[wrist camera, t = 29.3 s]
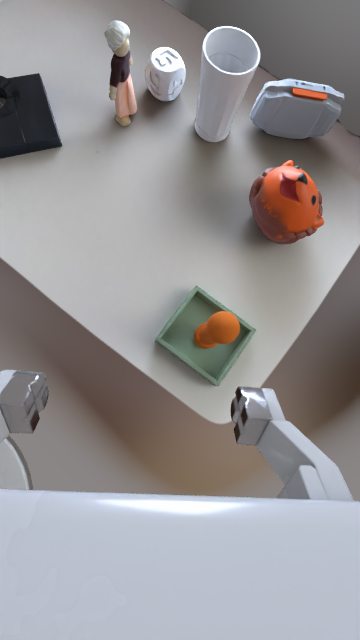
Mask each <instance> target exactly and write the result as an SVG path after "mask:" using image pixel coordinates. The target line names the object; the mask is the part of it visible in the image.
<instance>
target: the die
mask: <svg viewBox="0 0 360 640" xmlns="http://www.w3.org/2000/svg"><path fill="white" fill-rule="evenodd" d="M145 79H146V83H147V86H148V88H149V90H150V92H151V93H152V94H153V96H154V97H156V98H157V99H159V100H161V101H171V100H173V99H175V98H176V97H177V96H178V94H179V93H180V91H181V89H182V87H183V84H184V81H185V66H184V63H183V61H182V59H181V57H180V55H179V54H178V53H177V52H176V51H175V50H173V49H171V48H168V47H161V48H158V49H156V50H155V51H154V52H153V53H152V54H151V55H150V57H149V59H148V62H147V65H146V69H145Z"/></svg>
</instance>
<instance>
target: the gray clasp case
mask: <svg viewBox="0 0 360 640" xmlns="http://www.w3.org/2000/svg"><path fill="white" fill-rule="evenodd" d="M343 103H344V94H343V93H340V92H337V91H335V90H334V89H333V88H332V87H330V86H327V85H321V84H316V83H310V82H305V81H299V80H294V79H285V80H281V81H271V82H267V83H266V84H265V85H264V87H263V89H262V91H261V92H260V94H259V96H258V98H257V99H256V101H255V103H254V106H253V108H252V110H251V120H253V123H254V124H255V125H256V126H258V127H260V128H262V129H263V130H264V131H265V132H266V133H268V134H271V135H274V136H279V137H284V138H293V139H304V138H307V137H311V136H312V137H319V136H324V135H325V134H326V133H328V132H329V130H330V129H331V128H332V126H333V124H334V123H335V121H336V120H337V118H338V116H339V115H340V114H341V108H342V106H343Z"/></svg>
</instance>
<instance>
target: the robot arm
mask: <svg viewBox="0 0 360 640" xmlns="http://www.w3.org/2000/svg"><path fill="white" fill-rule="evenodd" d="M45 380H46V378H45V374H44V373H39V372H38V373H37V372H28V371H16V370H3V371H1V372H0V443H1V442H2V441H3V440H4V439H5V438H6V437H7V436H9V435H10V433H33V432H34V430H35V428H36V425H37V423H38V421H39V419H40V418H39V414H38V413H39V412H41V411H42V410H43V409H44V408H45V406H46V403H47V399H48V387H47V386H46V385H45V384H44V382H45ZM235 393H236V397H235V398H233V400H232V403H231V418H232V421H233V422H234V423H235V424H236V426H235V428H234V433H235V437H236V442H237V444H242V445H254V446H256V447H257V449H258V450H259V451H260V453H261V454H262V455H263V457H264V458H265V459H266V460H267V462H268V463H269V464H270V466H271V467H272V468H273V470H274V471H275V472H276V474H277V475H278V476H279V478H280V479H281V480H282V481H283V483H284V484H285V487H284V488H283V489H282V491H281V492H280V493H279V495H278V496H277V498H248V497H221V496H191V495H190V496H189V495H161V494H133V493H130V494H129V493H103V492H102V493H101V492H71V491H41V490H12V489H0V640H360V501H354V500H353V498H352V496H351V493H350V492H349V489H348V487H347V485H346V483H345V481H344V479H343V477H342V475H341V473H340V471H339V469H338V467H337V465H336V464H334V463H333V462H332V461H331V460H330V459H329V458H328V457H327V456H326V455H325V454H324V453H322V452H321V451H320V450H319V449H318V448H317V447H316V446H315V445H314V444H313V443H312V442H311V441H310V440H309V439H308V438H307V437H305V436H304V435H303V434H302V433H301V432H300V431H299V430H298V429H297V428H296V427H295V426H294V425H293V424H291V423H290V422H289V421H286V420H285V418H284V415H283V413H282V410H281V407H280V405H279V402H278V400H277V398H276V395H275V392H274V391H273V389H266V388H254V387H238V388H237V389H236V392H235Z"/></svg>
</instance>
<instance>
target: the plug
mask: <svg viewBox="0 0 360 640" xmlns="http://www.w3.org/2000/svg"><path fill="white" fill-rule="evenodd" d="M239 331H240V324H239V321H238V319H237V318H236V317H235V316H234V315H233V314H232V313H230V312H226V311H220V312H217V313H215V314H213V315H212V316H211V317H210V318H209V320H208V322H207V323H204V324H202V325H201V326H199V327H198V328H197V329H196V330H195V332H194V335H193V338H194V342H195V344H196V345H197V346H198V347H200V348H203V349H208V348H211V347H214V346H216V345H217V344H228V343H231V342H232V341H234V340H235V339H236V338H237V336H238V335H239Z"/></svg>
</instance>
